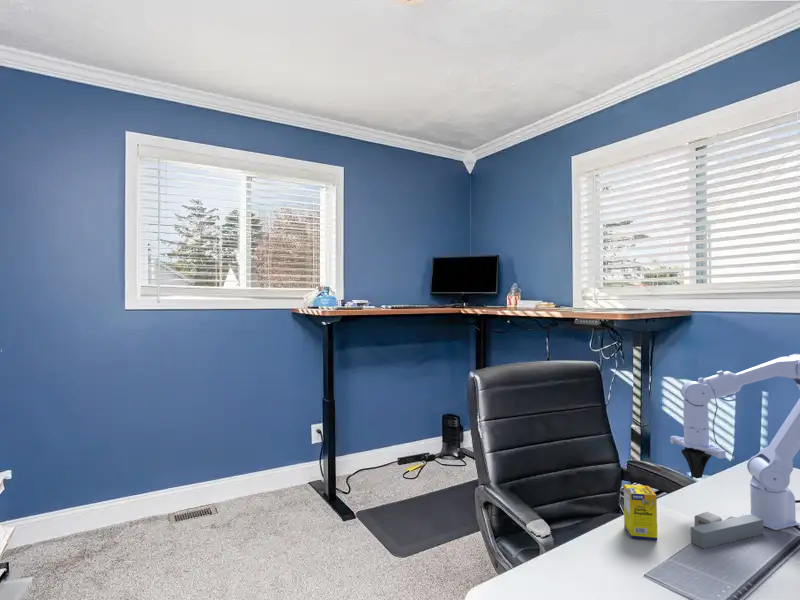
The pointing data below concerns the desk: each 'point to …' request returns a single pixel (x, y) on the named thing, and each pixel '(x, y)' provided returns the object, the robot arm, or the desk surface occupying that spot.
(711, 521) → the usb wall charger
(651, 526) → the supplement box
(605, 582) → the desk surface
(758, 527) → the slate rail
